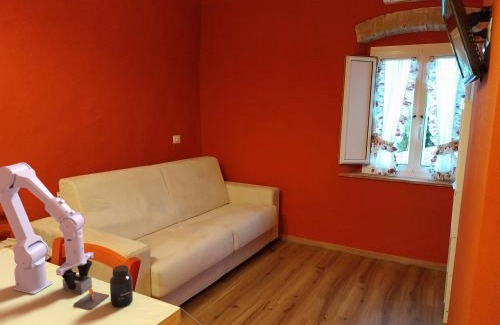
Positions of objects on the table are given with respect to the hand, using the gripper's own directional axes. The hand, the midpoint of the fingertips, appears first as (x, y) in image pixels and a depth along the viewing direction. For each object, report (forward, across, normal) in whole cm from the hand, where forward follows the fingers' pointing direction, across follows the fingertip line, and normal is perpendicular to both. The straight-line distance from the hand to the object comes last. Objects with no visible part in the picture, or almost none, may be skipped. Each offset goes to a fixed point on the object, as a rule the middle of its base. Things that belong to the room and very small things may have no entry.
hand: (77, 285), depth 121 cm
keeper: (+1, -4, -10) cm, 11 cm away
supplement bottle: (+2, -2, -20) cm, 20 cm away
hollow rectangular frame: (+1, 0, 0) cm, 1 cm away
